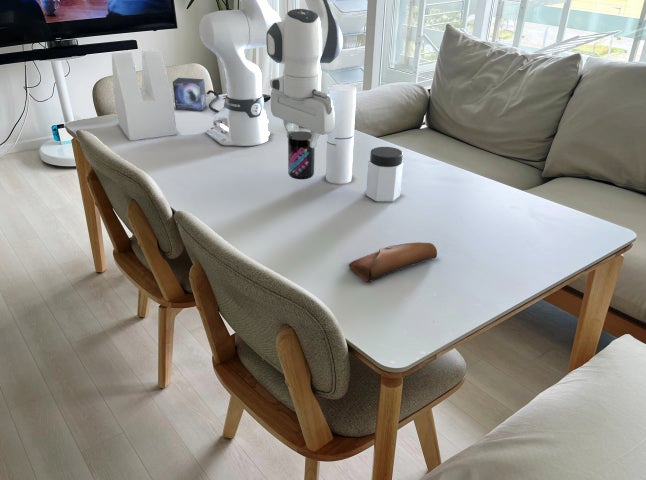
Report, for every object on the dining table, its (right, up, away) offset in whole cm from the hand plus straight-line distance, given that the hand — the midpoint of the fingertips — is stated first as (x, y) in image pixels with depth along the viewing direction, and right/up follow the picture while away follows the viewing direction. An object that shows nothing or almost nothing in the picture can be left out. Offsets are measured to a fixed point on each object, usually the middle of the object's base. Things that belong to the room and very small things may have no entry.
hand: (301, 142), depth 146 cm
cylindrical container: (+10, -6, +18) cm, 22 cm away
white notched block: (-53, +17, +55) cm, 78 cm away
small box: (-43, +30, +77) cm, 93 cm away
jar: (+21, -12, +9) cm, 26 cm away
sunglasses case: (+19, -31, -22) cm, 43 cm away
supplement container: (0, -8, +5) cm, 9 cm away
